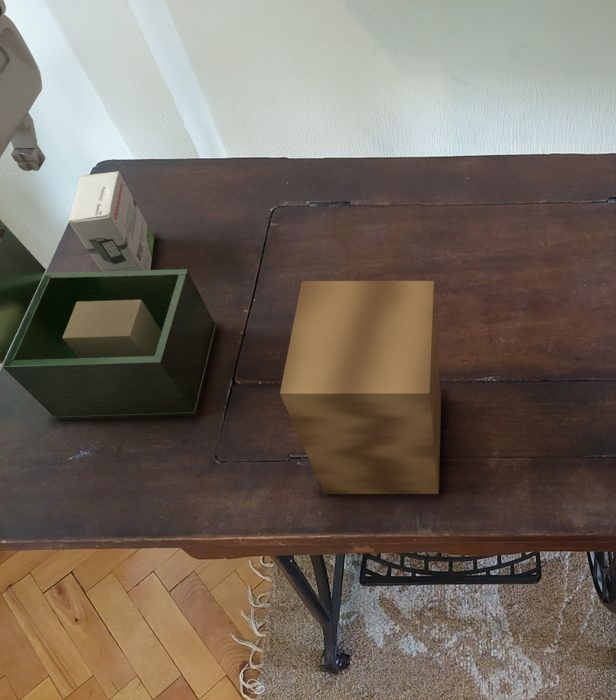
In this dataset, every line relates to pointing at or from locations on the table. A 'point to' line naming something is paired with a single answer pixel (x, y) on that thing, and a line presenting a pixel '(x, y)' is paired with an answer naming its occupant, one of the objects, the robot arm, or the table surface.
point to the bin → (115, 372)
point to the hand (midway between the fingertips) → (15, 201)
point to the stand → (367, 385)
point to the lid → (15, 286)
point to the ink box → (111, 223)
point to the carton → (112, 329)
